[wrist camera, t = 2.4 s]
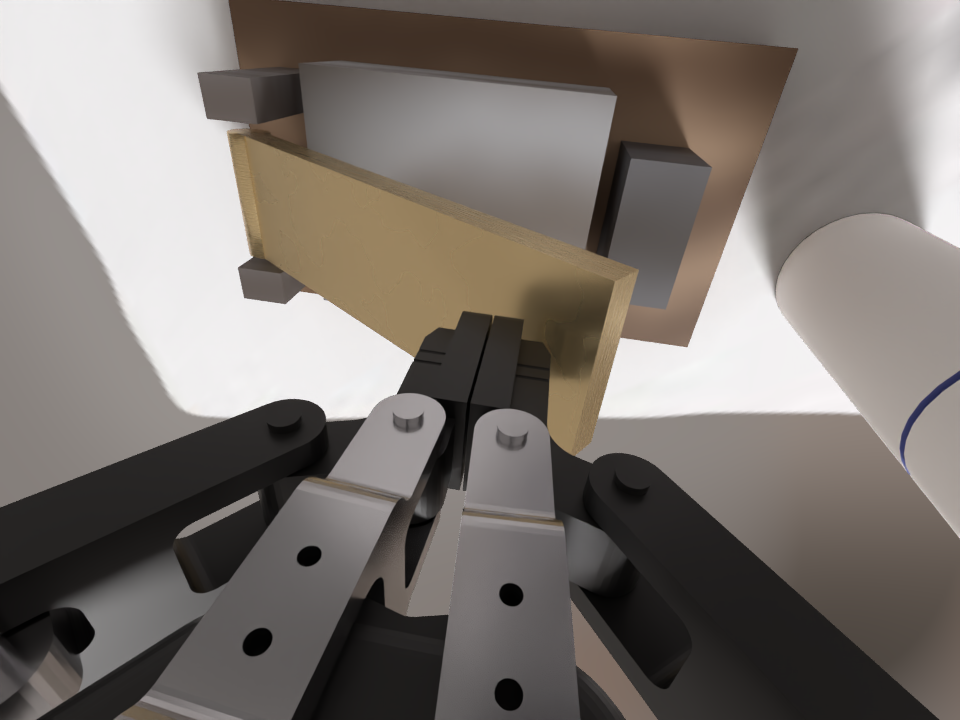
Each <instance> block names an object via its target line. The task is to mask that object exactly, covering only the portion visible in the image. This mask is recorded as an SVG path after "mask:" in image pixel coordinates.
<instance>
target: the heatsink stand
mask: <svg viewBox="0 0 960 720" xmlns="http://www.w3.org/2000/svg"><path fill="white" fill-rule="evenodd" d="M229 6H230V12H231V18H232V24H233V30H234V36H235V42H236V48H237V54H238V60H239V66H240V70H227V71H213V72H199V73H198V78H199V83H200V87H201V92H202V97H203V102H204V107H205V111H206V116H207V119H214V120H223V121H232V122H240V123H249V127H250V129H261V130H267V131H270V132H271V135H272V136H275V137H278V138H281V139H283V140H286V141H289V142H291V143H294V144H297V145H300V146H302V147H305V148H308V149H311V150H313V151H316V152H319V153H322V154H324V155H327V156H330V157H332V158H335V159H338V160H341V161H343V162H346V163H349V164H352V165H354V166H357V167H360V168H362V169H365V170H368V171H371V172H373V173H376V174H379V175H382V176H384V177H387V178H390V179H393V180H395V181H398V182H401V183H403V184H406V185H409V186H412V187H414V188H417V189H420V190H423V191H425V192H428V193H431V194H434V195H436V196H439V197H442V198H444V199H447V200H450V201H453V202H455V203H458V204H461V205H464V206H466V207H469V208H472V209H475V210H477V211H480V212H483V213H485V214H488V215H491V216H494V217H496V218H499V219H502V220H505V221H507V222H510V223H513V224H515V225H518V226H521V227H524V228H526V229H529V230H532V231H535V232H537V233H540V234H543V235H546V236H548V237H551V238H554V239H556V240H559V241H562V242H565V243H567V244H570V245H573V246H576V247H578V248H581V249H584V250H587V251H589V252H592V253H595V254H597V255H600V256H603V257H606V258H608V259H611V260H614V261H617V262H619V263H622V264H625V265H628V266H630V267H633V268H636V269H638V270H639V271H638V275H637V278H636V282H635V285H634V289H633V293H632V296H631V300H630V303H629V307H628V311H627V314H626V318H625V321H624V325H623V329H622V332H621V336H620V338H627V339H634V340H641V341H648V342H655V343H662V344H669V345H676V346H683V347H688V344H689V341H690V339H691V336H692V333H693V331H694V328H695V325H696V322H697V320H698V317H699V314H700V312H701V309H702V306H703V304H704V301H705V298H706V296H707V293H708V290H709V288H710V285H711V282H712V279H713V277H714V274H715V271H716V269H717V266H718V263H719V261H720V258H721V255H722V253H723V250H724V247H725V244H726V242H727V239H728V236H729V234H730V231H731V228H732V226H733V223H734V220H735V218H736V215H737V212H738V210H739V207H740V204H741V201H742V199H743V196H744V193H745V191H746V188H747V185H748V183H749V180H750V177H751V175H752V172H753V169H754V166H755V164H756V161H757V158H758V156H759V153H760V150H761V148H762V145H763V142H764V140H765V137H766V134H767V132H768V129H769V126H770V123H771V121H772V118H773V115H774V113H775V110H776V107H777V105H778V102H779V99H780V97H781V94H782V91H783V88H784V86H785V83H786V80H787V78H788V75H789V72H790V70H791V67H792V64H793V62H794V59H795V56H796V54H797V51H798V48H787V47H776V46H766V45H755V44H744V43H733V42H722V41H711V40H701V39H690V38H679V37H668V36H657V35H647V34H636V33H625V32H614V31H603V30H593V29H582V28H571V27H560V26H549V25H539V24H528V23H517V22H506V21H495V20H485V19H474V18H463V17H452V16H441V15H431V14H420V13H409V12H398V11H387V10H377V9H366V8H355V7H344V6H333V5H322V4H312V3H301V2H290V1H279V0H229ZM238 270H239V275H240V280H241V285H242V289H243V294H244V298H247V299H254V300H261V301H268V302H275V303H281V304H286V303H287V302H288V301H289V300H291V299H292V298H293V297H294V296H295V295H296V294H297V293H298V292H299V291H301V292H308V293H315V294H318V293H316V292H315V291H313V290H312V289H310V288H309V287H307V286H305V285H304V284H302V283H301V282H299V281H298V280H296V279H295V278H293V277H292V276H290V275H289V274H287V273H286V272H284V271H283V270H281V269H280V268H278V267H277V266H275V265H274V264H272V263H271V262H269V261H268V260H266V259H261V258H256V257H253V258H252V259H250V260H249V261H247V262H246V263H244V264H243V265H241V266H240V267H238ZM324 300H327V299H325V298H324Z"/></svg>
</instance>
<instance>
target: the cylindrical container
mask: <svg viewBox="0 0 960 720" xmlns="http://www.w3.org/2000/svg"><path fill="white" fill-rule="evenodd" d="M776 300H777V304H778V308H779V309H780V311H781V313H782V315H783V316H784V318H785V319H786V320H787V321H788V323H789V324H790V325H791V326H792V328H793V329H794V330H795V332H796V333H797V334H798V335H799V337H800V338H801V339H802V340H803V342H804V343H805V344H806V345H807V347H808V348H809V349H810V350H811V352H812V353H813V354H814V355H815V357H816V358H817V359H818V360H819V362H820V363H821V364H822V365H823V367H824V368H825V369H826V370H827V372H828V373H829V374H830V376H831V377H832V378H833V379H834V381H835V382H836V383H837V384H838V386H839V387H840V388H841V389H842V391H843V392H844V393H845V394H846V396H847V397H848V398H849V399H850V401H851V402H852V403H853V404H854V406H855V407H856V408H857V410H858V411H859V412H860V413H861V415H862V416H863V417H864V418H865V420H866V421H867V422H868V423H869V425H870V426H871V427H872V428H873V430H874V431H875V432H876V433H877V435H878V436H879V437H880V438H881V440H882V441H883V442H884V444H885V445H886V446H887V447H888V449H889V450H890V451H891V452H892V454H893V455H894V456H895V457H896V459H897V460H898V461H899V462H900V463H901V465H902V466H903V467H904V469H905V470H906V471H907V472H908V473H909V474H910V475H911V477H912V479H913V480H914V481H915V482H916V484H917V485H918V486H919V488H920V489H921V490H922V491H923V493H924V494H925V495H926V496H927V498H928V499H929V500H930V501H931V503H932V504H933V505H934V506H935V508H936V509H937V510H938V511H939V513H940V514H941V515H942V516H943V518H944V519H945V520H946V521H947V523H948V524H949V525H950V527H952V529H953V530H954V532H955V533H956V534H957V535H958V537H959V538H960V248H958V247H956V246H954V245H952V244H950V243H948V242H946V241H944V240H943V239H941V238H939V237H937V236H935V235H933V234H931V233H929V232H927V231H925V230H923V229H921V228H919V227H917V226H916V225H914V224H912V223H910V222H908V221H906V220H904V219H901V218H898V217H895V216H892V215H888V214H879V213H869V214H858V215H854V216H850V217H845V218H842V219H840V220H837V221H835V222H832V223H830V224H828V225H826V226H824V227H822V228H820V229H819V230H817V231H815V232H814V233H813V234H811V235H810V236H809V237H807V238H806V239H805V240H803V241H802V242H801V243H800V244H799V245H798V246H797V247H796V248H795V249H794V250H793V252H792V253H791V254H790V256H789V257H788V259H787V260H786V261H785V263H784V264H783V267H782V269H781V271H780V273H779V276H778V280H777V284H776Z"/></svg>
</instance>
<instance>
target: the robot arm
mask: <svg viewBox="0 0 960 720" xmlns="http://www.w3.org/2000/svg"><path fill="white" fill-rule="evenodd" d="M492 321H493V323H492ZM523 324H524V319H518V318H511V317H504V316H497V315H495V316H494V319H493V315H490V314H483V313H476V312H469V311H463V312H462V314H461V316H460V319H459V321H458V324H457V326H456V329H455V330H454V329H447V328H441V327H439V328H437V329H436V330H434V331H433V332H431V333H430V334H428V335H427V336H425V338H424V340H423V342H422V344H421V346H420V348H419V351H418V352H417V354H416V356H415V358H414V362H412V364H411V366H410V368H409V370H408V372H407V374H406V376H405V378H404V381H403V383H402V385H401V387H400V389H399V391H398V393H397V395H393V396H390V397H388V398H385V399H384V400H382V401H380V402H379V403H378V404H377V405H376V406H375V407H374V408H373V410H372V411H371V413H370V414H369V416H368V417H367V418H364V419H359V420H349V421H334V422H326V416H325V413H324V411H323V410H322V409H321V408H320V407H319V406H318V405H316V404H314V403H312V402H310V401H306V400H300V399H286V400H280V401H275V402H272V403H269V404H266V405H264V406H261V407H259V408H256V409H254V410H251V411H248V412H246V413H243V414H241V415H238V416H235V417H233V418H230V419H228V420H225V421H223V422H220V423H217V424H215V425H212V426H210V427H207V428H204V429H202V430H199V431H197V432H194V433H192V434H189V435H186V436H184V437H181V438H179V439H176V440H173V441H171V442H169V443H166V444H163V445H161V446H158V447H155V448H153V449H150V450H148V451H145V452H142V453H140V454H137V455H135V456H132V457H130V458H128V459H124V460H122V461H119V462H117V463H114V464H112V465H109V466H106V467H104V468H101V469H99V470H96V471H93V472H91V473H88V474H86V475H83V476H81V477H78V478H75V479H73V480H70V481H68V482H65V483H62V484H60V485H57V486H55V487H52V488H50V489H47V490H44V491H42V492H39V493H37V494H34V495H32V496H29V497H26V498H24V499H21V500H19V501H16V502H13V503H11V504H8V505H6V506H3V507H1V508H0V720H626V719H625V718H624V717H623V715H622V713H621V712H620V711H619V709H618V708H617V706H616V705H615V704H614V703H613V701H612V700H611V699H610V698H609V697H608V695H607V694H606V693H605V692H604V691H603V690H602V689H601V688H600V686H598V684H597V683H596V682H595V681H594V680H593V679H592V678H591V677H589V676H588V675H587V674H586V673H585V672H583V671H582V670H581V669H580V668H579V667H577V666H576V662H575V649H574V637H573V625H572V613H571V600H572V601H573V603H574V604H575V605H576V607H577V608H578V609H579V611H580V612H581V614H582V615H583V616H584V618H585V619H586V621H587V622H588V623H589V625H590V626H591V627H592V629H593V630H594V632H595V633H596V634H597V636H598V637H599V638H600V640H601V641H602V643H603V644H604V645H605V647H606V648H607V649H608V651H609V652H610V654H611V655H612V657H613V658H614V659H615V661H616V662H617V663H618V665H619V666H620V668H621V669H622V670H623V672H624V673H625V674H626V676H627V677H628V679H629V680H630V681H631V683H632V684H633V686H634V687H635V688H636V690H637V691H638V693H639V694H640V695H641V697H642V698H643V700H644V701H645V702H646V704H647V705H648V706H649V708H650V709H651V711H652V712H653V713H654V715H655V716H656V717H657V719H658V720H939V719H938V718H937V717H936V716H935V715H933V714H932V713H931V712H930V711H929V710H928V709H927V708H926V707H924V706H923V705H922V704H921V703H920V702H919V701H918V700H917V699H915V698H914V697H913V696H912V695H911V694H910V693H909V692H908V691H907V690H905V689H904V688H903V687H902V686H901V685H900V684H899V683H898V682H897V681H895V680H894V679H893V678H892V677H891V676H890V675H889V674H888V673H887V672H885V671H884V670H883V669H882V668H881V667H880V666H879V665H877V664H876V663H875V662H874V661H873V660H872V659H871V658H870V657H869V656H867V655H866V654H865V653H864V652H863V651H862V650H861V649H860V648H859V647H857V646H856V645H855V644H854V643H853V642H852V641H851V640H850V639H849V638H847V637H846V636H845V635H844V634H843V633H842V632H841V631H840V630H839V629H837V628H836V627H835V626H834V625H833V624H832V623H831V622H830V621H828V620H827V619H826V618H825V617H824V616H823V615H822V614H821V613H819V612H818V611H817V610H816V609H815V608H814V607H813V606H812V605H811V604H809V603H808V602H807V601H806V600H805V599H804V598H803V597H802V596H801V595H799V594H798V593H797V592H796V591H795V590H794V589H793V588H791V587H790V586H789V585H788V584H787V583H786V582H785V581H784V580H783V579H781V578H780V577H779V576H778V575H777V574H776V573H775V572H774V571H773V570H771V569H770V568H769V567H768V566H767V565H766V564H765V563H764V562H763V561H761V560H760V559H759V558H758V557H757V556H756V555H755V554H754V553H752V552H751V551H750V550H749V549H748V548H747V547H746V546H745V545H744V544H743V543H741V542H740V541H739V540H738V539H737V538H736V537H735V536H734V535H732V534H731V533H730V532H729V531H728V530H727V529H726V528H725V527H724V526H722V525H721V524H720V523H719V522H718V521H717V520H716V519H715V518H713V517H712V516H711V515H710V514H709V513H708V512H707V511H706V510H705V509H703V508H702V507H701V506H700V505H699V504H698V503H697V502H696V501H694V500H693V499H692V498H691V497H690V496H689V495H688V494H687V493H686V492H684V491H683V490H682V489H681V488H680V487H679V486H678V485H677V484H676V483H674V482H673V481H672V480H671V479H670V478H669V477H668V476H667V475H665V474H664V473H663V472H662V471H661V470H660V469H659V468H657V467H656V466H655V465H653V464H651V463H650V462H649V461H646V460H644V459H642V458H640V457H637V456H634V455H630V454H624V453H612V454H607V455H603V456H601V457H599V458H598V459H597V460H595V461H594V462H593V464H592V463H589V462H587V461H584V460H582V459H580V458H577V457H575V456H573V455H571V454H569V453H568V452H566V451H565V450H563V449H562V448H561V447H559V446H558V445H557V444H556V443H555V442H554V440H553V439H552V438H551V436H550V434H549V431H548V428H547V417H548V399H549V380H550V364H551V354H550V353H549V351H548V350H547V348H546V347H545V345H544V343H543V342H537V341H530V340H523V339H521V338H522V331H523ZM464 470H465V471H464ZM463 474H464V482H463V491H466V496H465V504H464V509H463V512H462V519H461V526H460V533H459V541H458V549H457V557H456V563H455V571H454V579H453V586H452V594H451V602H450V609H449V615H439V616H425V617H424V616H423V617H408V616H406V615H407V610H408V607H409V603H410V600H411V597H412V593H413V591H414V588H415V586H416V583H417V580H418V578H419V575H420V572H421V569H422V566H423V564H424V561H425V559H426V556H427V553H428V551H429V548H430V545H431V542H432V540H433V537H434V534H435V532H436V529H437V526H438V523H439V520H440V514H441V508H442V506H443V504H444V500H445V497H446V493H447V489H448V488H450V489H456V490H460V486H461V482H462V478H463ZM256 491H258V495H259V499H260V500H259V501H257V502H255V503H253V504H251V505H249V506H247V507H245V508H243V509H241V510H239V511H237V512H236V513H233V514H231V515H230V516H228V517H225V518H223V519H222V520H220V521H218V522H216V523H214V524H212V525H210V526H208V527H206V528H204V529H202V530H200V531H198V532H196V533H194V534H192V535H190V536H187V537H184V538H180V539H175V538H176V537H177V535H178V534H179V533H180V532H181V531H182V530H183V529H184V528H185V527H187V526H188V525H190V524H191V523H193V522H195V521H197V520H199V519H201V518H203V517H205V516H207V515H209V514H211V513H214V512H216V511H217V510H220V509H222V508H223V507H226V506H228V505H230V504H232V503H234V502H236V501H238V500H240V499H242V498H244V497H246V496H248V495H250V494H252V493H254V492H256ZM570 598H571V600H570Z"/></svg>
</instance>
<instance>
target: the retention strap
mask: <svg viewBox="0 0 960 720" xmlns="http://www.w3.org/2000/svg"><path fill="white" fill-rule="evenodd" d="M227 136H228V141H229V146H230V152H231V157H232V162H233V167H234V173H235V178H236V183H237V188H238V194H239V199H240V204H241V210H242V215H243V220H244V225H245V231H246V236H247V241H248V246H249V252H250V255H251V256H253V257H256V258H261V259H266V260H268V261H269V262H271V263H272V264H274V265H275V266H277V267H278V268H280V269H281V270H283V271H284V272H286V273H287V274H289V275H290V276H292V277H293V278H295V279H296V280H298V281H299V282H301V283H302V284H304V285H305V286H307V287H309V288H310V289H312V290H313V291H315V292H316V293H318V294H319V295H321V296H322V297H324V298H325V299H327V300H328V301H330V302H331V303H333V304H334V305H336V306H337V307H339V308H340V309H342V310H343V311H345V312H346V313H348V314H349V315H351V316H352V317H354V318H355V319H357V320H359V321H360V322H362V323H363V324H365V325H366V326H368V327H369V328H371V329H372V330H374V331H375V332H377V333H378V334H380V335H381V336H383V337H384V338H386V339H387V340H389V341H390V342H392V343H393V344H395V345H396V346H398V347H399V348H401V349H402V350H404V351H405V352H407V353H409V354H410V355H412V356H413V357H415V356H416V354H417V352H418V351H419V348H420V346H421V344H422V342H423V340H424V338H425V336H427V335H428V334H430V333H431V332H433V331H434V330H436V329H437V328H439V327H441V328H447V329H454V330H455V329H456V326H457V324H458V321H459V319H460V316H461V314H462V312H463V311H469V312H476V313H483V314H490V315H493V319H494V316H495V315H497V316H504V317H511V318H518V319H524V324H523V331H522V338H521V339H523V340H530V341H537V342H543V343H544V345H545V347H546V348H547V350H548V351H549V353H550V354H551V364H550V380H549V399H548V417H547V428H548V431H549V434H550V436H551V438H552V439H553V440H554V442H555V443H556V444H557V445H558V446H559V447H561V448H562V449H563V450H565V451H566V452H568V453H569V454H571V455H573V456H575V455H576V454H577V453H578V452H580V451H581V450H582V449H583V448H585V447H586V446H587V445H588V444H589V443H590V442H591V440H592V437H593V433H594V429H595V426H596V422H597V419H598V415H599V411H600V408H601V404H602V401H603V397H604V393H605V390H606V386H607V383H608V379H609V375H610V372H611V368H612V365H613V361H614V357H615V354H616V350H617V347H618V343H619V339H620V336H621V332H622V329H623V325H624V321H625V318H626V314H627V311H628V307H629V303H630V300H631V296H632V293H633V289H634V285H635V282H636V278H637V275H638V271H639V270H638V269H636V268H633V267H630V266H628V265H625V264H622V263H619V262H617V261H614V260H611V259H608V258H606V257H603V256H600V255H597V254H595V253H592V252H589V251H587V250H584V249H581V248H578V247H576V246H573V245H570V244H567V243H565V242H562V241H559V240H556V239H554V238H551V237H548V236H546V235H543V234H540V233H537V232H535V231H532V230H529V229H526V228H524V227H521V226H518V225H515V224H513V223H510V222H507V221H505V220H502V219H499V218H496V217H494V216H491V215H488V214H485V213H483V212H480V211H477V210H475V209H472V208H469V207H466V206H464V205H461V204H458V203H455V202H453V201H450V200H447V199H444V198H442V197H439V196H436V195H434V194H431V193H428V192H425V191H423V190H420V189H417V188H414V187H412V186H409V185H406V184H403V183H401V182H398V181H395V180H393V179H390V178H387V177H384V176H382V175H379V174H376V173H373V172H371V171H368V170H365V169H362V168H360V167H357V166H354V165H352V164H349V163H346V162H343V161H341V160H338V159H335V158H332V157H330V156H327V155H324V154H322V153H319V152H316V151H313V150H311V149H308V148H305V147H302V146H300V145H297V144H294V143H291V142H289V141H286V140H283V139H281V138H278V137H275V136H272V135H271V132H270V131H267V130H261V129H232V130H228V131H227ZM492 323H493V321H492Z"/></svg>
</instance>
